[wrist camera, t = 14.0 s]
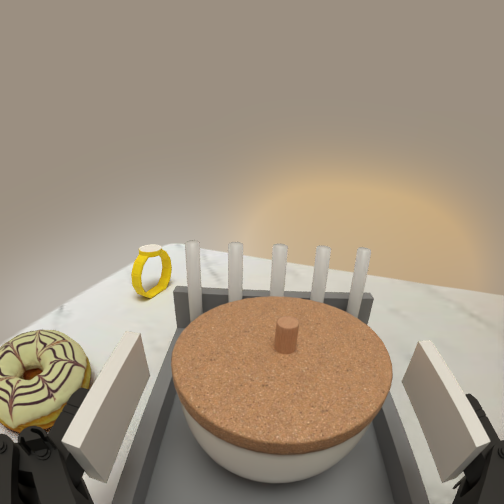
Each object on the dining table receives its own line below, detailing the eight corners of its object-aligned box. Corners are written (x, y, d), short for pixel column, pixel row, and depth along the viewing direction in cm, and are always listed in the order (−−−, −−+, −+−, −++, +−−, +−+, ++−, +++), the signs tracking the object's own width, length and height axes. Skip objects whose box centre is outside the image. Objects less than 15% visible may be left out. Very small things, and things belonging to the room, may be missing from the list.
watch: (160, 283, 39) (158, 239, 37) (177, 288, 38) (175, 243, 36) (129, 299, 34) (125, 251, 32) (146, 305, 33) (142, 256, 31)
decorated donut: (-20, 389, 16) (-38, 357, 15) (57, 342, 25) (46, 310, 24) (25, 463, 12) (-2, 431, 10) (119, 390, 21) (107, 356, 19)
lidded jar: (154, 449, 15) (115, 334, 12) (247, 364, 24) (251, 257, 20) (310, 536, 10) (369, 462, 6) (373, 410, 18) (414, 300, 15)
